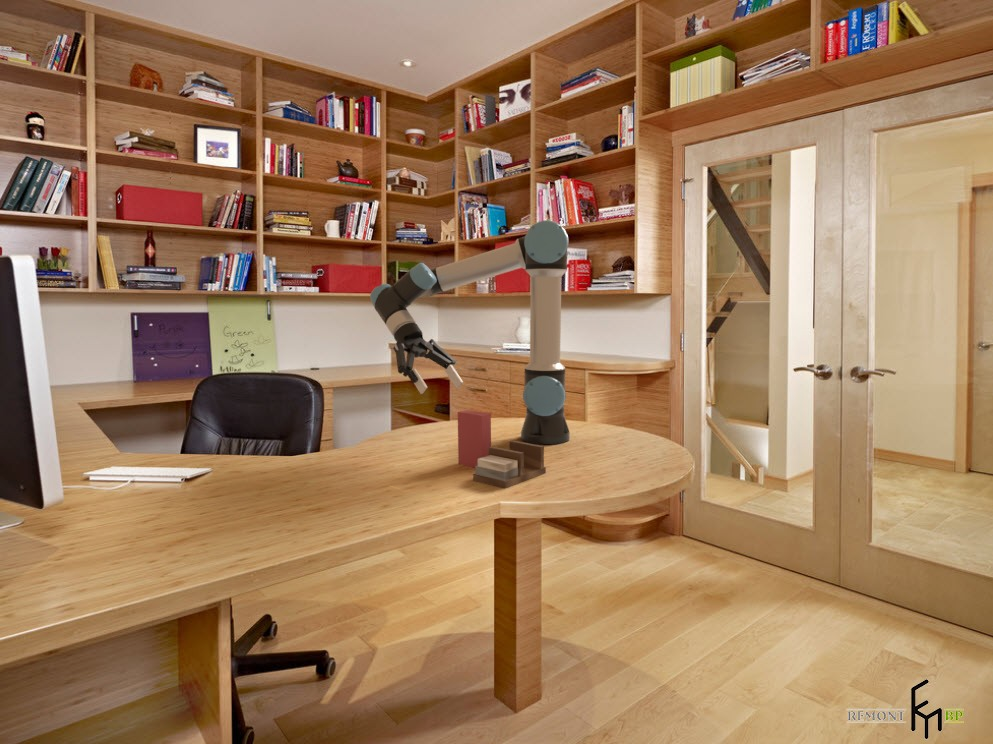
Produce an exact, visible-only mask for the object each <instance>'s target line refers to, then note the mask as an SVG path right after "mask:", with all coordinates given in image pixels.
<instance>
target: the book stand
mask: <svg viewBox="0 0 993 744" xmlns="http://www.w3.org/2000/svg"><path fill="white" fill-rule="evenodd" d="M544 451H545V446H544V445H541V444H536V443H529V442H525V441H523V442H522V441H517V440H510V441H509V449H507V448H502V447H496V446H491V447H489V456H486V457H483V458H479V459H478V466H475V467H474V468H475V470H474V471H475V473H474V474H472V476H473V477H472V480H473V481H475V482H479V483H483V484H487V485H491V486H495V487H499V488H502V489H503V488H504V489H507V488H510V487H513V486H515V485H517V484H520V483H522V482H525V481H529V480H531V479H534V478H535V477H538V476H541V475H544V474H546V473H547V470H546V469H547V467H546V466H545V452H544Z"/></svg>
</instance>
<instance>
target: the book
mask: <svg viewBox="0 0 993 744" xmlns="http://www.w3.org/2000/svg"><path fill="white" fill-rule="evenodd" d="M457 443H458V444H457V445H458V446H457V450H458V452H457V453H458V457H457V458H458V465H463V466H467V467H471V468H475V466H478V459H479V458H483V457H486V456H489V447H492V414H491V413H489V412H482V411H476V410H469V409H465V410H460V411H457Z"/></svg>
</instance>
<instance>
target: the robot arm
mask: <svg viewBox="0 0 993 744" xmlns="http://www.w3.org/2000/svg"><path fill="white" fill-rule="evenodd" d="M569 242H570V241H569V236H568V233H567V231H566V229H565V228H564V227H563V226H562V225H561V224H560V223H559V222H557V221H553V220H545V219H544V220H539V221H538V222H536V223H533V224H532V225H531V226H530V227H529V228H528V230H527V232H526V233H525V236H522V237H519V238H516V240H515V241H514V243H511V244H508V245H505V246H502V247H499V248H495V249H492V250H489V251H485V252H483V253H479V254H475V255H473V256H469V257H467V258H464V259H461V260H457V261H455V262H454V261H453V262H450V263H448V264H447V263H446V264H444V265H441V266H438V267H435V268H431V269H430V268H429V266H427V265H426V264H425V263H424V262H418V263H417V264H416V265H415V266H413V267H411V268H410V270H408V271H407V272H406V273H405V274H404V275H402V277H400V278H399V279H398V280H397V281H395V282H394V283H393V284H392V285H391V284H390V283H389V284H388V283H381V284H380V285H379V286H376V287H374V288H373V290H371V292H370V294H369V295H370V297H369V300H370V302H371V303H372V305H373V307H374V310H375V312H377V314H378V316H379V317H380V319H382V321H383V323H384V324H385V326H386V327H387V329H388V331H389V332H390V333H391V335H392V337H393V338H394V341H395V342H396V343H395V344H394V346H393V347H392V348H393V351H394V353H395V356H396V357H395V358H396V365H397V366H396V367H397V373H399V374H400V375H401V374H402V375H403V377H406V378H407V377H408V378H409V380H410V381H411V383H413V384H414V386H415V387H416V389H417V391H418V392H419V394H420V395H422V394H424V393H425V391H427V389H428V386H427V385H428V384H426V382H425V381H424V378H423V377H422V376H421V375H420V373H419V372H418V370H417V368H414V361H415V358H425V359H430V360H431V361H432V362H434V363H435V364H437V365H439V366H440V367H442V368H444V369H445V370H444V372H445V374H446V375H447V376H448V378H449V379H450V380H451V382H452V384H453V385H454V386H455V388H456V389H459V388H460V387H461V386H462V385H463V383H464V381H463V379H462V378H461V376H460V375H459V371H457V369H456V367H455V366H454V365H455V364H456V363H457V359H455V358H454V357H453V356H452V355H450V354H449V353H448V352H446V351H445V350H444V349H443V348H442V347H441V346H439V345H438V343H437V342H436V341H435V340H434V339H433V338H431V339H430V340H429V341H426V340H425V339H424V337H423V335H424V334H423V332H422V330H421V328H420V327H419V325H418V324H417V323H416V320H415V319H414V317H413V316H412V314H411V313H410V312H409V309H408V307H409V306H410V305H412V304H413V303H414V302H415V301H417V300H418V299H419V298H431V297H433V296H434V295H436V294H441V293H442V292H446V291H449V290H453V289H455V288H459V287H462V286H465V285H469V284H473V283H475V282H479V281H482V280H485V279H489V278H493V277H495V276H498V275H503V274H505V273H508V272H512V271H516V270H518V269H524V271H525V272H526V273H527V274H528V275H529V276H530V310H529V311H530V312H529V313H530V314H529V315H530V321H529V322H530V323H529V326H530V329H529V331H530V333H529V337H530V338H529V362H528V363H527V364H526V365H525V366H524V375H523V376H524V381H523V382H524V384H523V386H524V389H523V391H522V400H523V403H524V405H525V406H526V415H525V417H524V422H523V424H522V427H521V431H520V439H521V441H523V442H524V443H529V444H535V445H553V444H556V445H557V444H562V443H566V442H568V441H570V439H571V437H570V434H571V433H570V430H569V427H568V423H567V420H566V417H565V402H566V398H567V397H566V396H567V393H566V367H565V365H564V364H562V363H561V324H562V323H561V321H562V320H561V319H562V315H561V314H562V277H563V276H564V274H565V273H566V272H567V271H568V247H569ZM405 352H406V353H407V354H406V356H405Z"/></svg>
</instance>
